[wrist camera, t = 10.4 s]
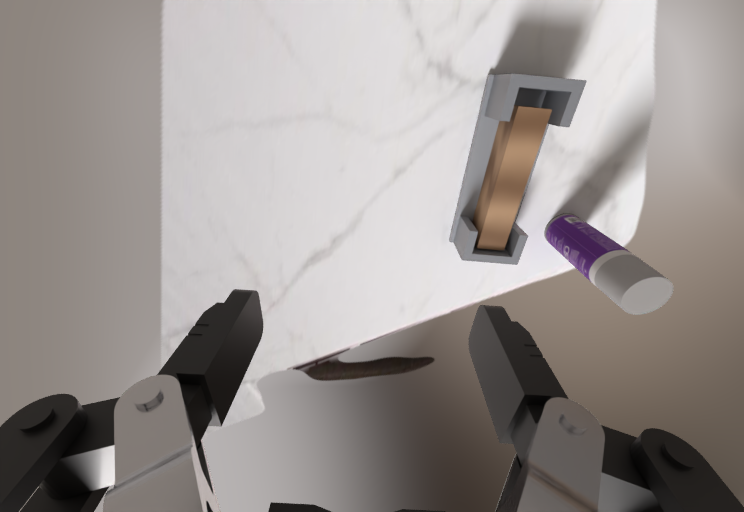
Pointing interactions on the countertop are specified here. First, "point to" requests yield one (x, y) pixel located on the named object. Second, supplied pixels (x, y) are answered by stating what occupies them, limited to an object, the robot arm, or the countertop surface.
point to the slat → (508, 174)
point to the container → (609, 265)
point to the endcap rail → (493, 109)
